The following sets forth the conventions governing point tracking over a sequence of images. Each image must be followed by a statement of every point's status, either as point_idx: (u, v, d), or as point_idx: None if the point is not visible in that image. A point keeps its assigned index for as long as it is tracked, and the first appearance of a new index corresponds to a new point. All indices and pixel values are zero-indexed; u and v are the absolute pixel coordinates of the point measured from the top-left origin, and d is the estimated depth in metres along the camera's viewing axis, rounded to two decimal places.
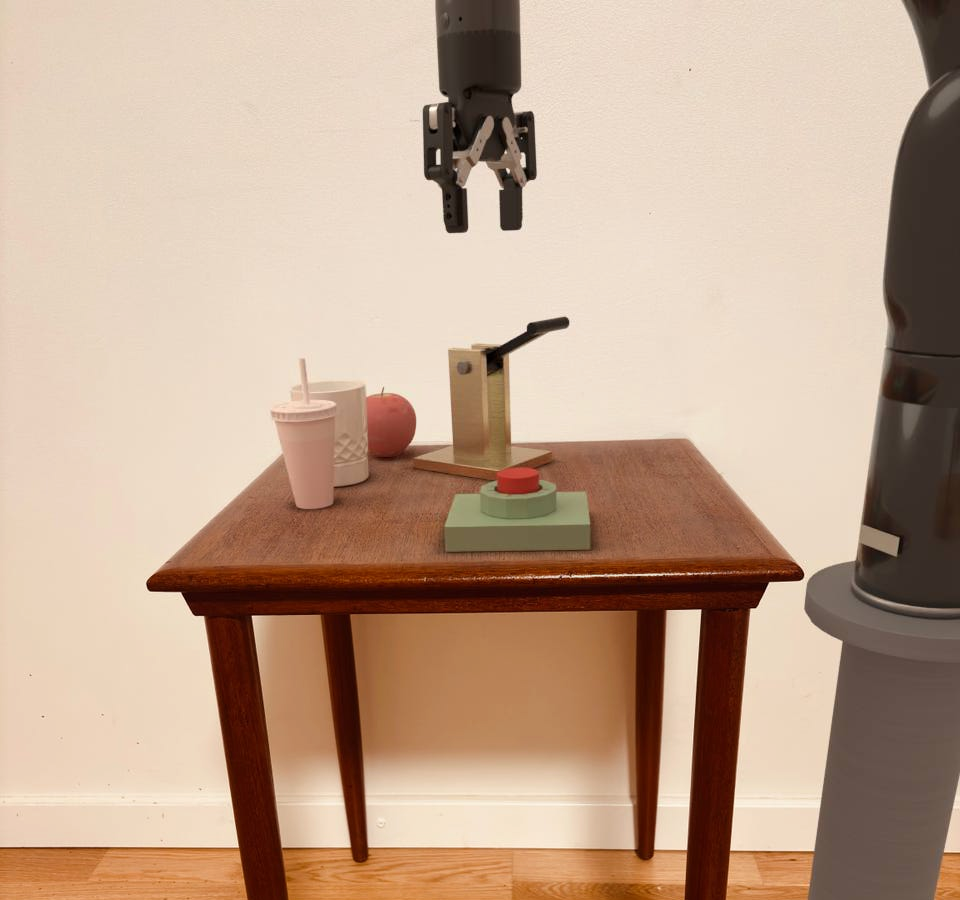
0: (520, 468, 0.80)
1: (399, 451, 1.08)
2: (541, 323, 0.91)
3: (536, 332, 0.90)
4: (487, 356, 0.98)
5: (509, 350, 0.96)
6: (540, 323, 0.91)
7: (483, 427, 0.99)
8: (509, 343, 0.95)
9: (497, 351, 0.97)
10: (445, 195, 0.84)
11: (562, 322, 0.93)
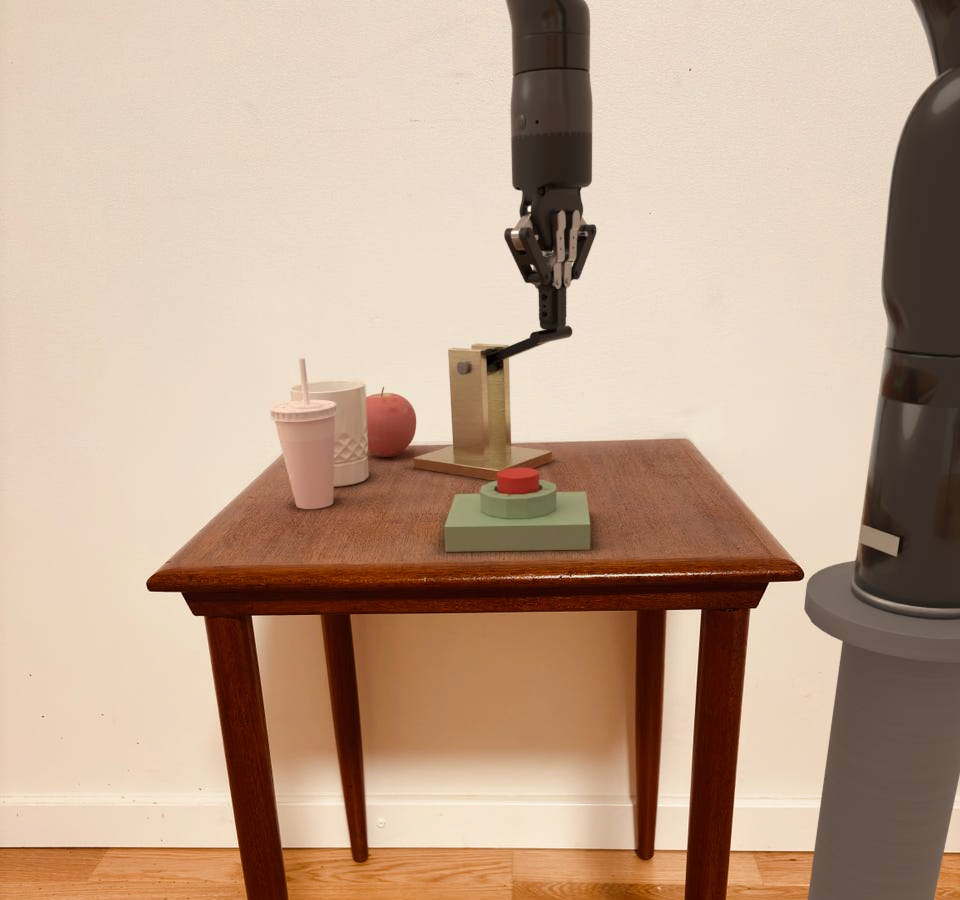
0: (520, 468, 0.80)
1: (399, 451, 1.08)
2: (544, 333, 0.91)
3: (539, 342, 0.91)
4: (488, 358, 0.98)
5: (510, 354, 0.96)
6: (543, 333, 0.91)
7: (483, 427, 0.99)
8: (511, 347, 0.95)
9: (498, 353, 0.97)
10: (541, 296, 0.90)
11: (565, 332, 0.93)
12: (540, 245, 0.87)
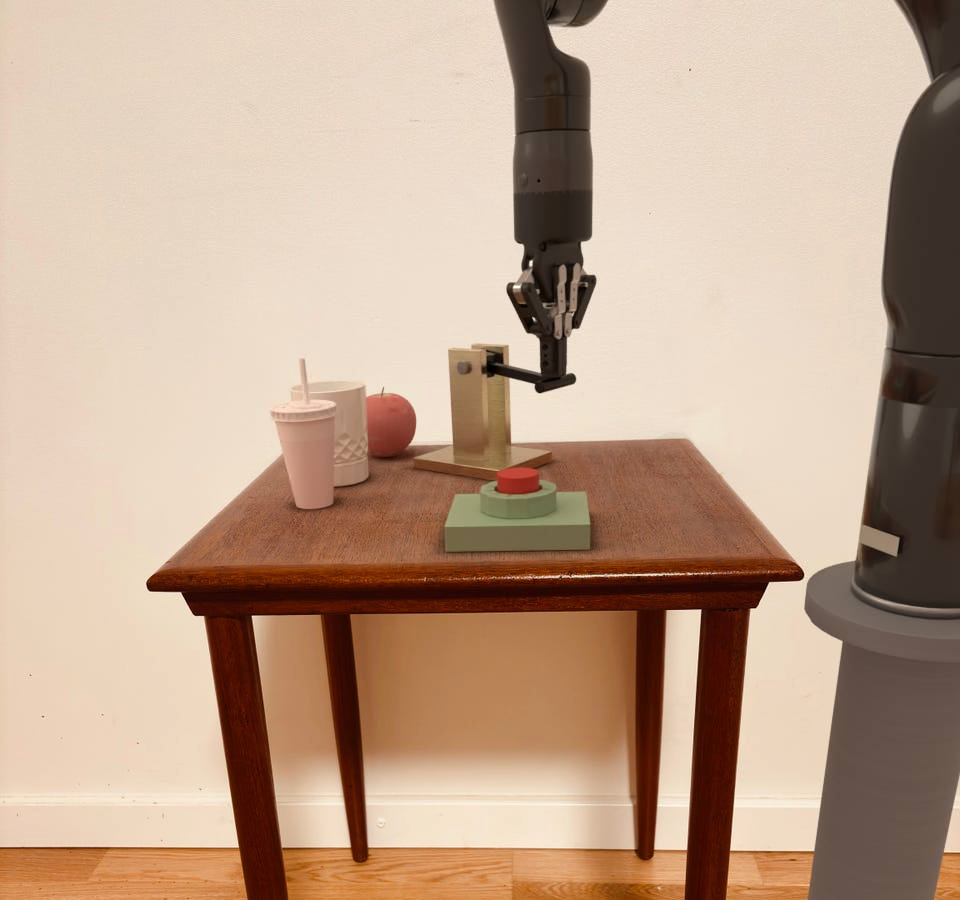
0: (520, 468, 0.80)
1: (399, 451, 1.08)
2: (550, 384, 0.93)
3: (542, 392, 0.92)
4: (489, 366, 0.98)
5: (511, 377, 0.97)
6: (549, 384, 0.92)
7: (483, 427, 0.99)
8: (514, 372, 0.96)
9: (501, 369, 0.97)
10: (542, 345, 0.92)
11: (569, 382, 0.95)
12: (541, 298, 0.89)
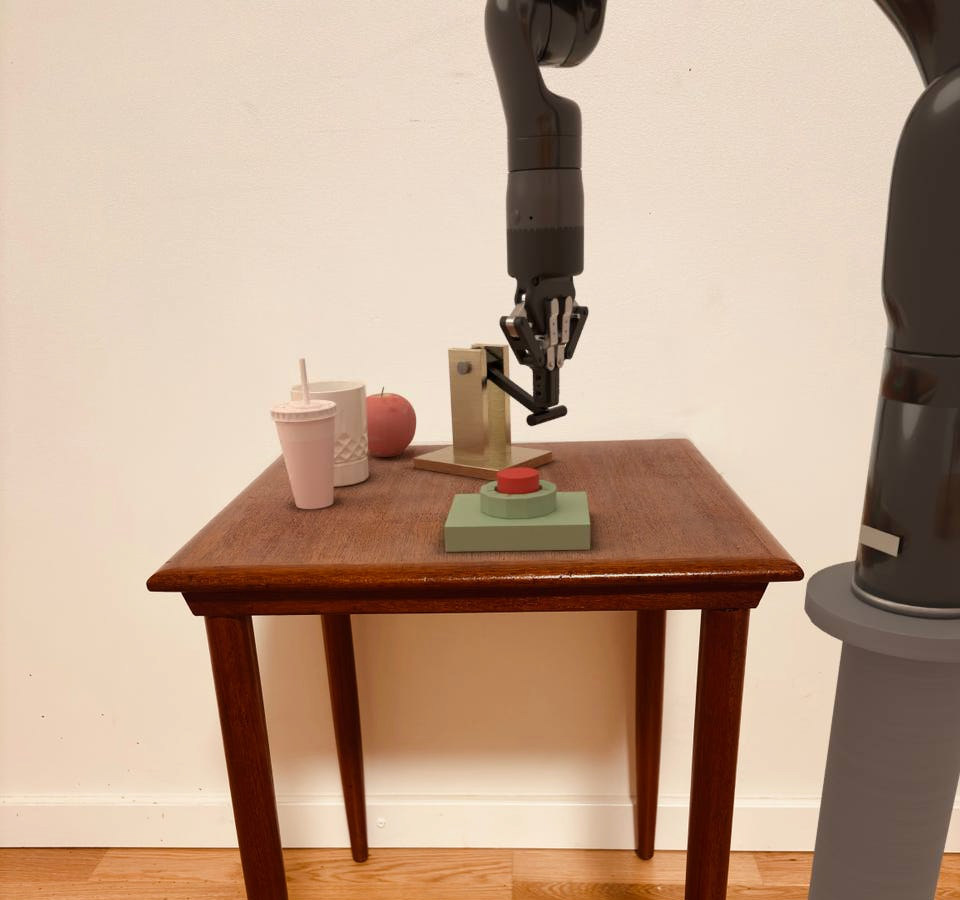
0: (520, 468, 0.80)
1: (399, 451, 1.08)
2: (541, 419, 0.95)
3: (532, 425, 0.95)
4: (488, 372, 0.98)
5: (507, 392, 0.98)
6: (540, 420, 0.95)
7: (483, 427, 0.99)
8: (511, 388, 0.97)
9: (499, 380, 0.98)
10: (535, 376, 0.94)
11: (559, 416, 0.97)
12: (534, 330, 0.91)
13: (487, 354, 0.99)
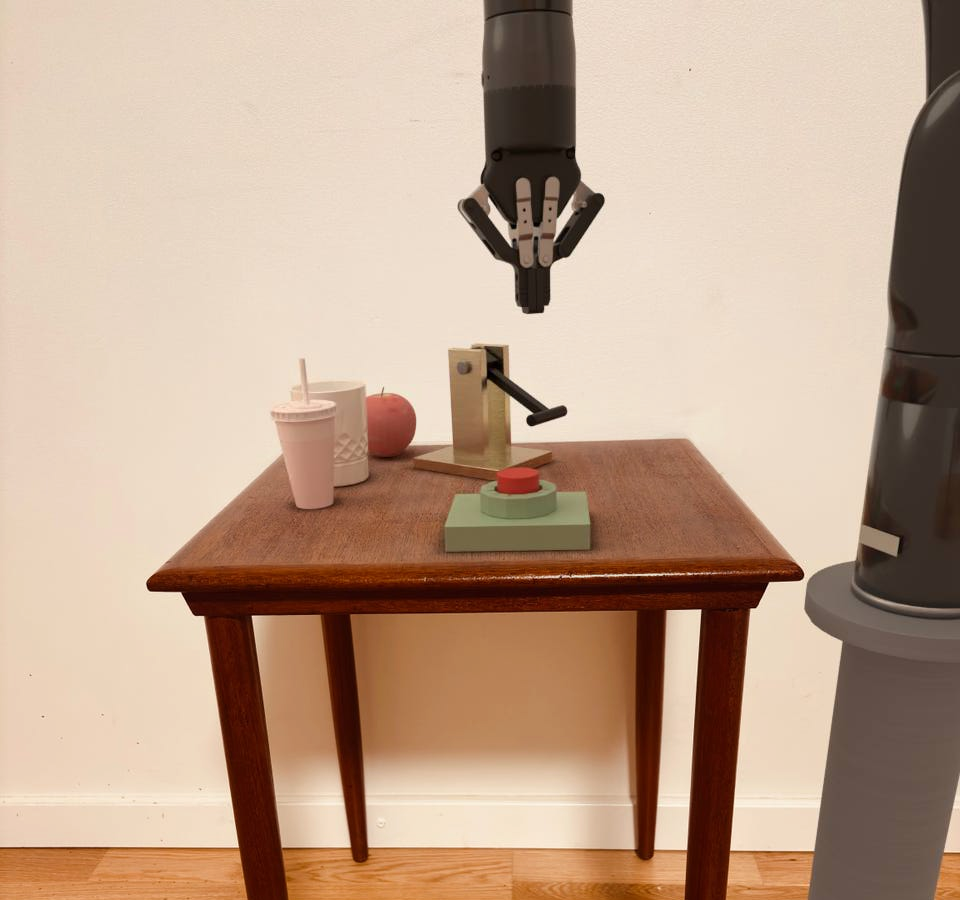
0: (520, 468, 0.80)
1: (399, 451, 1.08)
2: (541, 420, 0.95)
3: (531, 426, 0.95)
4: (488, 372, 0.98)
5: (507, 392, 0.98)
6: (540, 420, 0.95)
7: (483, 427, 0.99)
8: (511, 389, 0.97)
9: (499, 380, 0.98)
10: (516, 275, 0.80)
11: (559, 416, 0.97)
12: (505, 218, 0.78)
13: (487, 354, 0.99)
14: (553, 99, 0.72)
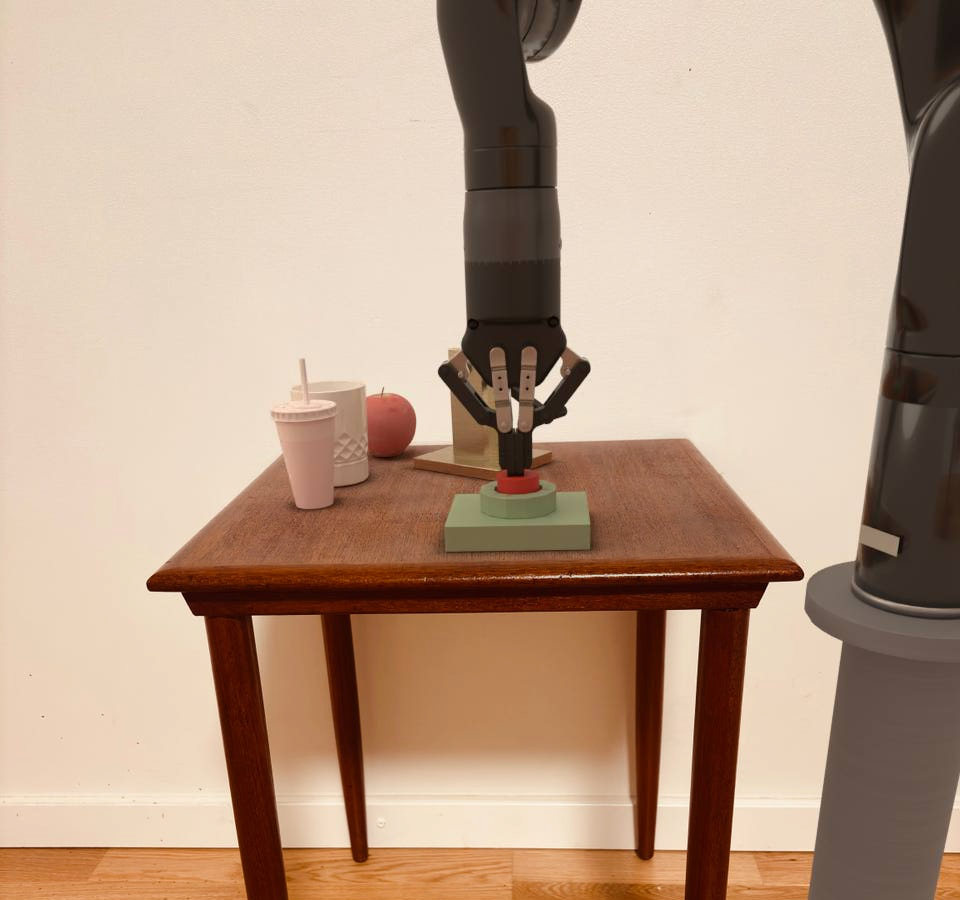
0: None
1: (399, 451, 1.08)
2: None
3: None
4: None
5: None
6: None
7: (483, 427, 0.99)
8: (511, 389, 0.97)
9: None
10: None
11: (559, 416, 0.97)
12: None
13: None
14: (522, 275, 0.69)
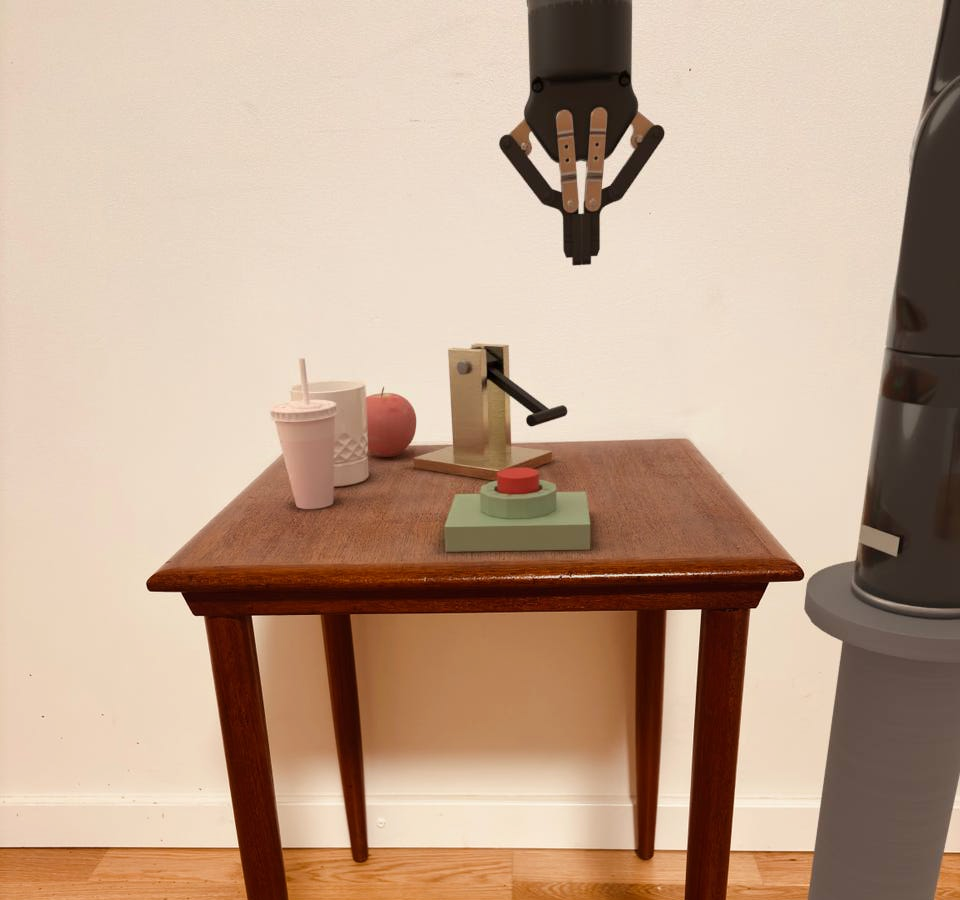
0: (520, 468, 0.80)
1: (399, 451, 1.08)
2: (541, 420, 0.95)
3: (531, 426, 0.95)
4: (488, 372, 0.98)
5: (507, 392, 0.98)
6: (540, 420, 0.95)
7: (483, 427, 0.99)
8: (511, 389, 0.97)
9: (499, 380, 0.98)
10: None
11: (559, 416, 0.97)
12: None
13: (487, 354, 0.99)
14: (594, 16, 0.64)
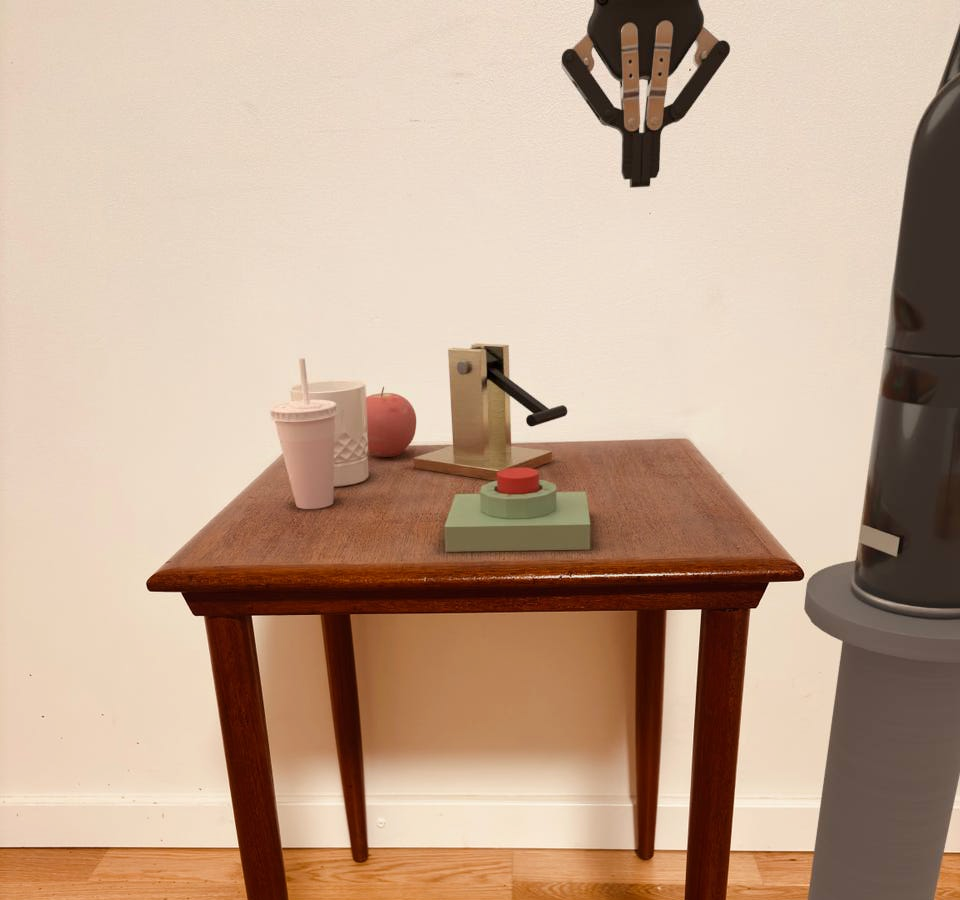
0: (520, 468, 0.80)
1: (399, 451, 1.08)
2: (541, 420, 0.95)
3: (531, 426, 0.95)
4: (488, 372, 0.98)
5: (507, 392, 0.98)
6: (540, 420, 0.95)
7: (483, 427, 0.99)
8: (511, 389, 0.97)
9: (499, 380, 0.98)
10: (623, 142, 0.72)
11: (559, 416, 0.97)
12: (612, 73, 0.69)
13: (487, 354, 0.99)
14: None
